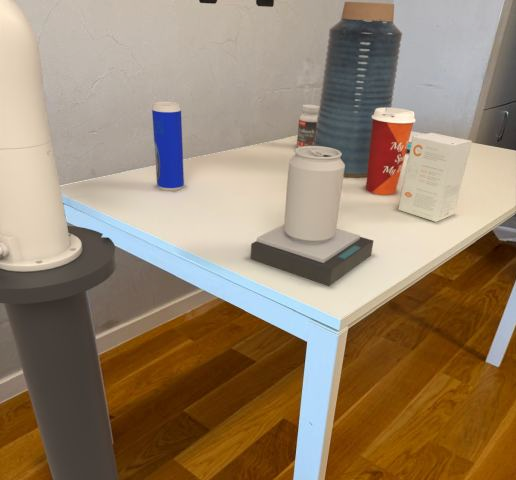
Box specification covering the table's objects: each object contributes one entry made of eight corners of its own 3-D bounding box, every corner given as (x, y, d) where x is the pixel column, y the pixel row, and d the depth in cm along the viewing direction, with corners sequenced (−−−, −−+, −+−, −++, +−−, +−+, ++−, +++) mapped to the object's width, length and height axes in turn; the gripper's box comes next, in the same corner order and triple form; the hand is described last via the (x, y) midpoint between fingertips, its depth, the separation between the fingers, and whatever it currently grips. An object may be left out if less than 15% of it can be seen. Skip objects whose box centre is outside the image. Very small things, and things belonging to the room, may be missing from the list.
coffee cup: (393, 199, 98) (409, 116, 90) (354, 191, 102) (366, 110, 93) (406, 189, 104) (422, 110, 96) (369, 181, 108) (381, 105, 99)
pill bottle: (293, 148, 130) (296, 106, 124) (300, 143, 134) (304, 103, 129) (314, 151, 128) (319, 108, 123) (321, 146, 132) (325, 105, 127)
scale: (329, 286, 67) (332, 265, 65) (250, 259, 73) (251, 239, 71) (371, 255, 76) (374, 236, 74) (297, 233, 82) (299, 215, 80)
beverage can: (160, 182, 101) (154, 100, 92) (185, 184, 101) (182, 102, 92) (154, 190, 96) (148, 105, 88) (181, 192, 96) (178, 106, 88)
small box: (453, 215, 92) (473, 140, 85) (435, 222, 88) (454, 145, 81) (415, 203, 97) (431, 131, 90) (396, 210, 93) (411, 135, 86)
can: (304, 250, 68) (313, 159, 62) (273, 231, 74) (278, 146, 67) (345, 240, 72) (358, 153, 65) (313, 223, 77) (322, 141, 70)
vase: (315, 177, 109) (334, 0, 91) (307, 157, 122) (322, 0, 104) (390, 179, 109) (423, 5, 92) (373, 160, 123) (399, 4, 105)
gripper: (161, -173, 60) (169, 1, 69) (282, -193, 52) (272, 7, 61) (202, -157, 65) (204, 3, 75) (318, -173, 57) (304, 8, 67)
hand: (235, 4), depth 68 cm, fingers open, 9 cm apart
